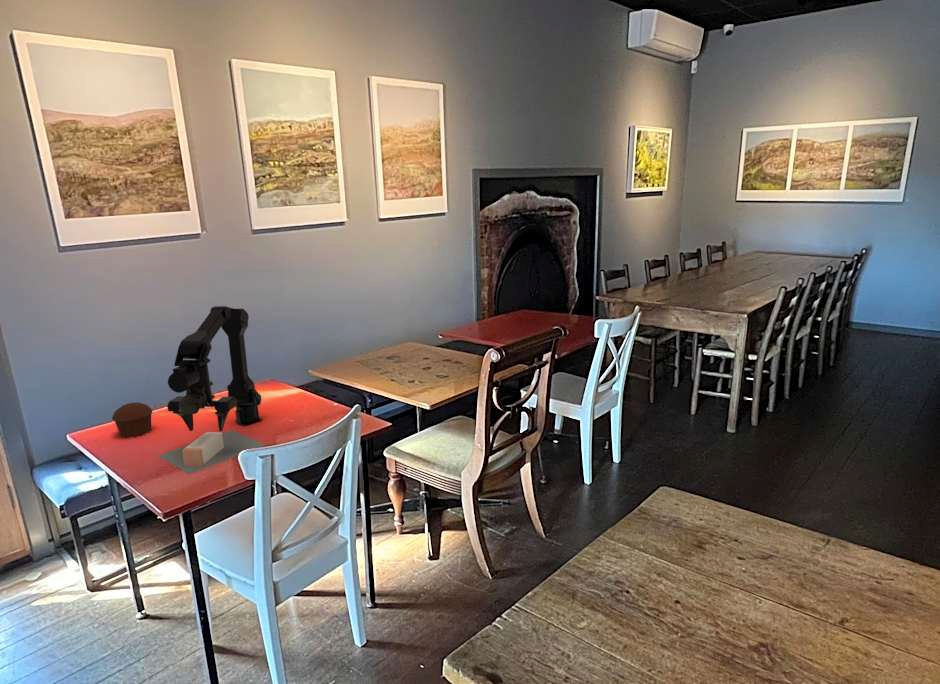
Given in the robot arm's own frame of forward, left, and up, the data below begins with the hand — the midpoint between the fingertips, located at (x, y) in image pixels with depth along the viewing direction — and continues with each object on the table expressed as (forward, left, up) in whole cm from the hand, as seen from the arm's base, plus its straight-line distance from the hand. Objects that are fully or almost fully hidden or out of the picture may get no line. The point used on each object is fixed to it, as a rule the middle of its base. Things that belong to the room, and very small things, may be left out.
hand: (206, 430), depth 173 cm
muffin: (+7, -36, -8) cm, 38 cm away
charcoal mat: (-1, -1, -8) cm, 8 cm away
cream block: (-3, -2, -5) cm, 6 cm away
